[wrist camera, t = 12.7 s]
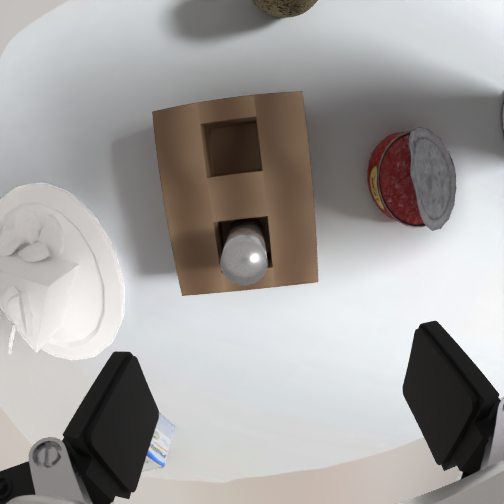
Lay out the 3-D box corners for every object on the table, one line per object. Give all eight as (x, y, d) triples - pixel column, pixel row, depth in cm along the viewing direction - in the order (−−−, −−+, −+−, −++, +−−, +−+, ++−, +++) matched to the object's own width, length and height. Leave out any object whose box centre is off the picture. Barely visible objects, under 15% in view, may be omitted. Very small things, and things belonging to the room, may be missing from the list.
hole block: (292, 104, 27) (301, 91, 21) (306, 259, 32) (318, 281, 26) (171, 119, 27) (152, 111, 21) (194, 271, 32) (182, 295, 26)
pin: (261, 213, 29) (265, 238, 20) (264, 246, 30) (269, 283, 21) (227, 217, 29) (217, 243, 20) (232, 249, 30) (223, 287, 21)
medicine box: (144, 436, 41) (131, 475, 33) (124, 421, 40) (108, 459, 32) (175, 425, 40) (165, 468, 32) (155, 408, 39) (140, 451, 31)
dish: (157, 245, 32) (115, 288, 21) (97, 381, 38) (68, 433, 27) (11, 151, 28) (-51, 158, 17) (-15, 295, 34) (-57, 326, 23)
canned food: (366, 138, 32) (402, 88, 22) (434, 172, 32) (482, 136, 22) (347, 224, 30) (392, 188, 20) (424, 256, 30) (483, 236, 20)
